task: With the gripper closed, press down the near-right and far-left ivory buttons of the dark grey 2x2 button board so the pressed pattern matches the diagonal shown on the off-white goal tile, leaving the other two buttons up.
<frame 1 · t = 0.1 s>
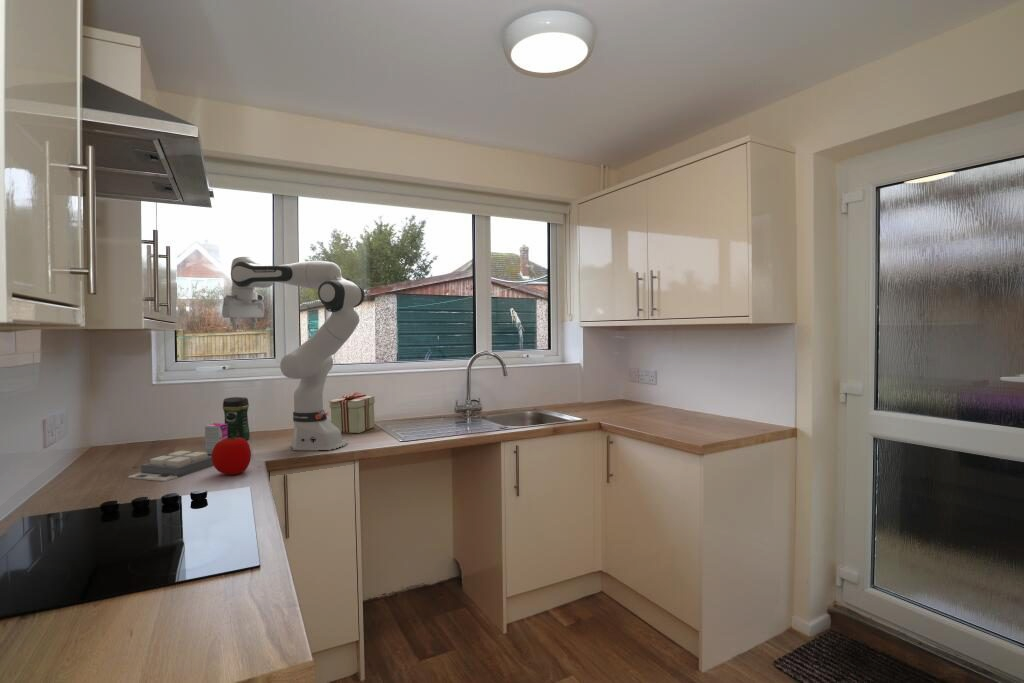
hand: (244, 328, 221), 48 cm above the worktop, fingers open, 8 cm apart
tomato: (232, 474, 176), on the worktop
button near right: (196, 457, 184), point 3 cm above the worktop, slide at 0.0 cm
supplement box: (216, 454, 202), on the worktop
button far right: (180, 456, 185), point 3 cm above the worktop, slide at 0.0 cm
button far left: (162, 461, 179), point 3 cm above the worktop, slide at 0.0 cm
gift box: (350, 430, 244), on the worktop
button board: (179, 469, 181), on the worktop
coffee jar: (236, 440, 224), on the worktop
button near left: (178, 462, 177), point 3 cm above the worktop, slide at 0.0 cm
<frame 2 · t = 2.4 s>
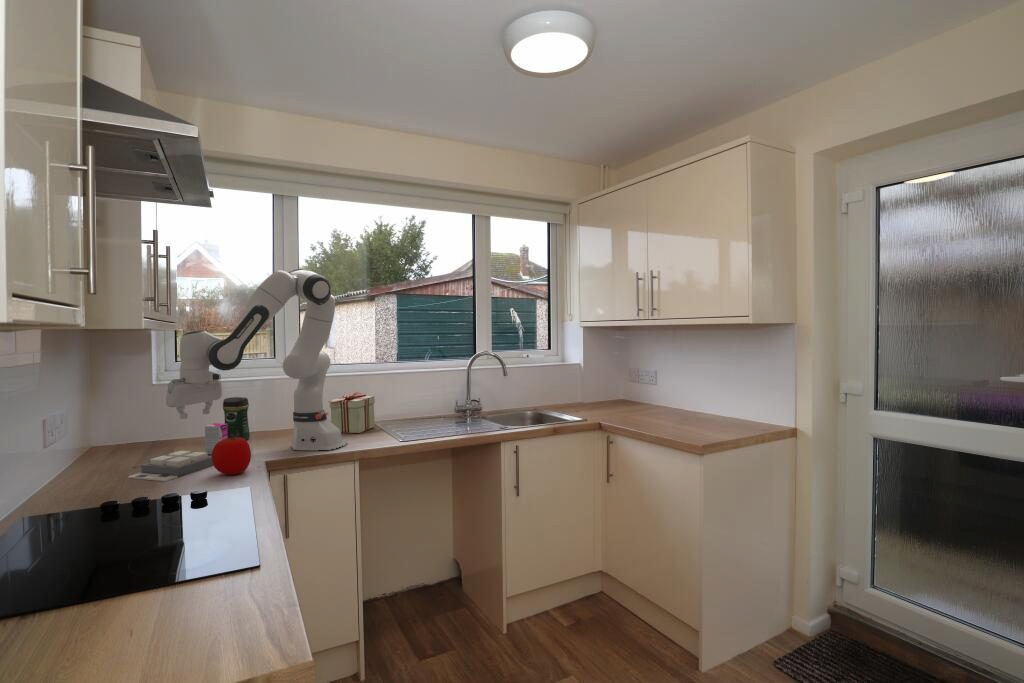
hand: (195, 416, 183), 18 cm above the worktop, fingers open, 8 cm apart
nothing on the worktop moved.
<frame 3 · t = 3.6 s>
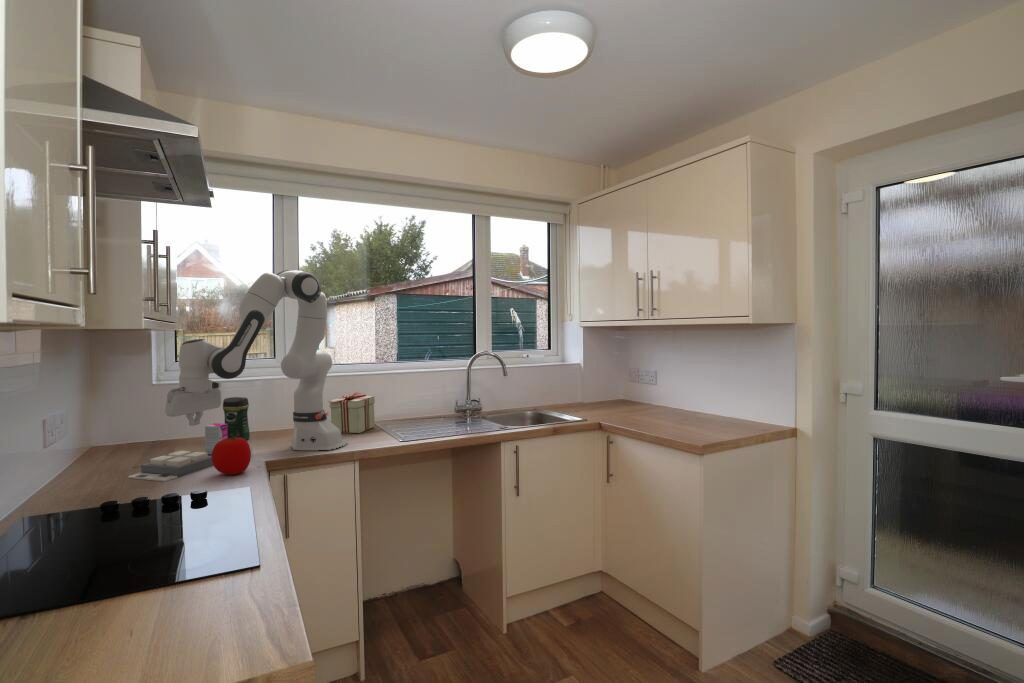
hand: (194, 424, 183), 15 cm above the worktop, fingers closed
nothing on the worktop moved.
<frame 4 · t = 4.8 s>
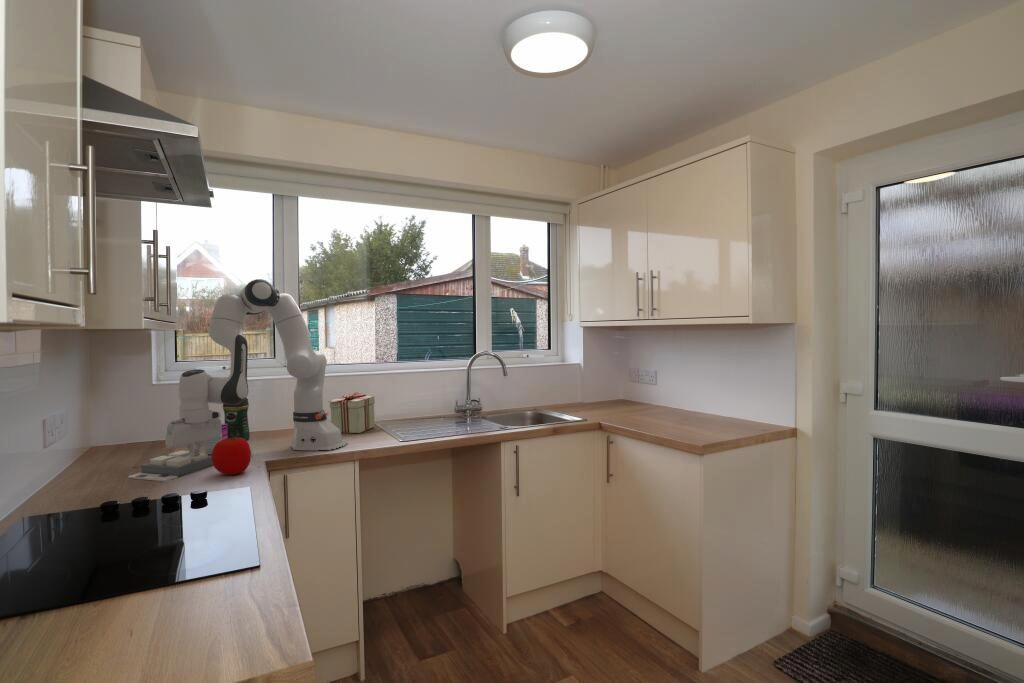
hand: (195, 455, 184), 4 cm above the worktop, fingers closed, pressing on button near right
button near right: (196, 458, 184), point 3 cm above the worktop, slide at 0.6 cm, touching gripper
everything else where it was.
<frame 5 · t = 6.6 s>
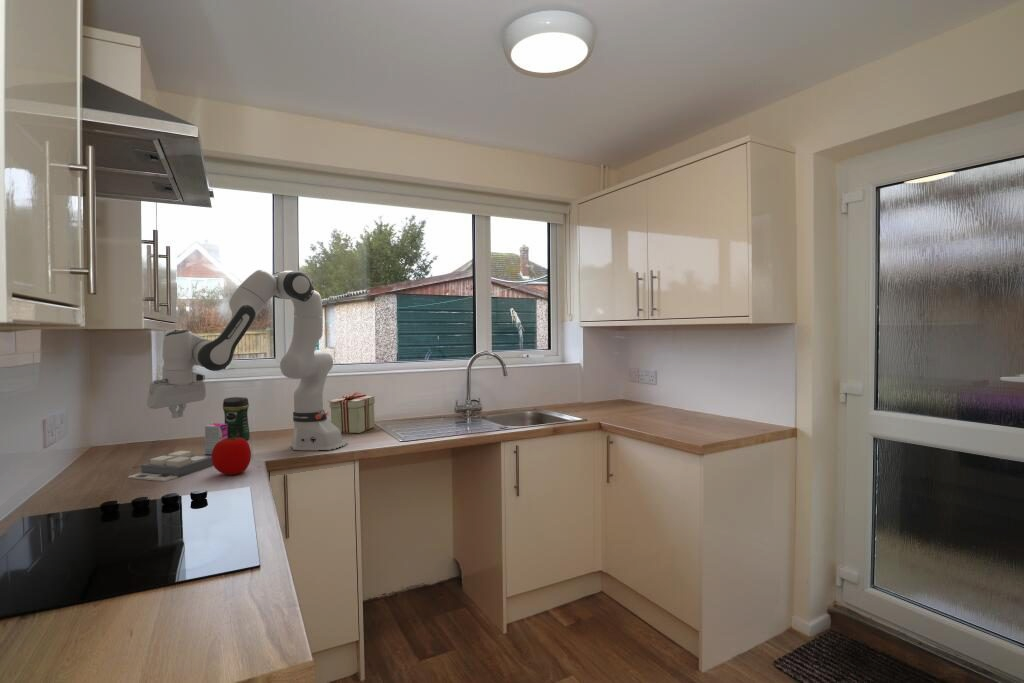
hand: (177, 417, 180), 18 cm above the worktop, fingers closed
button near right: (196, 461, 184), point 2 cm above the worktop, slide at 1.5 cm
everything else where it was.
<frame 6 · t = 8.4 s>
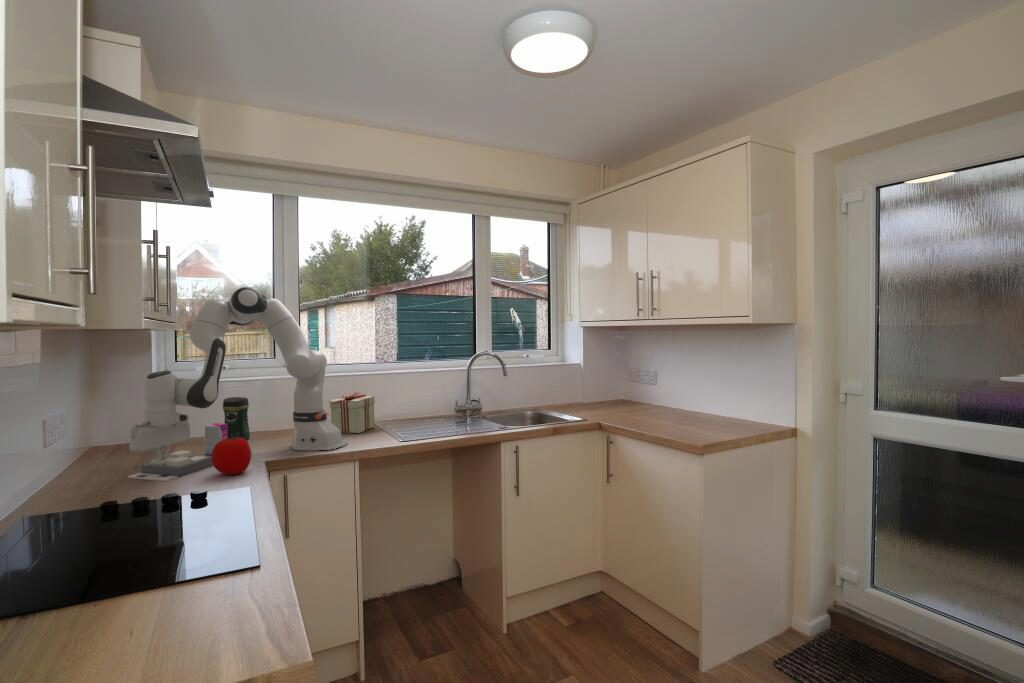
hand: (161, 459, 179), 4 cm above the worktop, fingers closed, pressing on button far left
button far left: (162, 462, 179), point 3 cm above the worktop, slide at 0.6 cm, touching gripper
everything else where it was.
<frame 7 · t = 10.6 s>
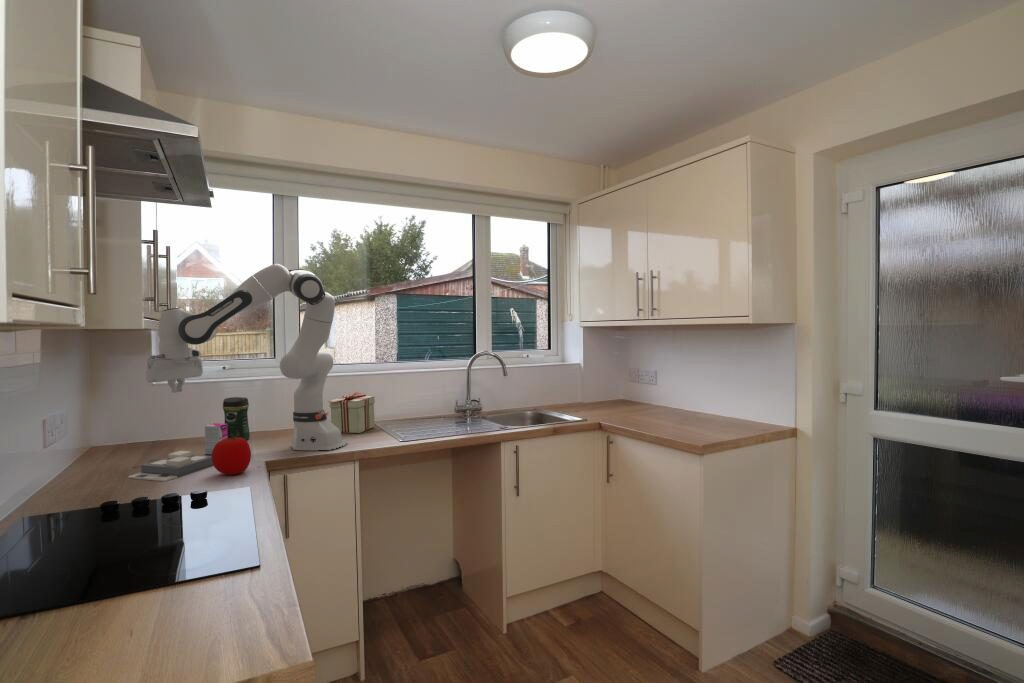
hand: (177, 392, 187), 26 cm above the worktop, fingers closed
button far left: (162, 465, 179), point 2 cm above the worktop, slide at 1.5 cm
everything else where it was.
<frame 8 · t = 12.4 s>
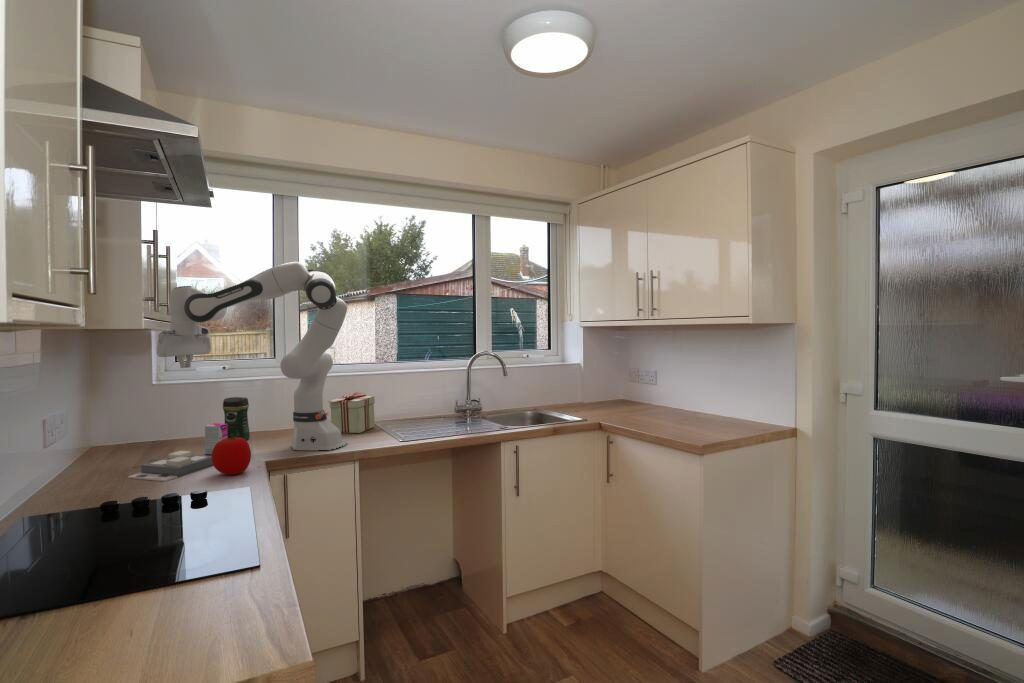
hand: (185, 367, 192), 34 cm above the worktop, fingers closed
nothing on the worktop moved.
at the end: button near right slide at 1.5 cm; button far left slide at 1.5 cm; button far right slide at 0.0 cm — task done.
